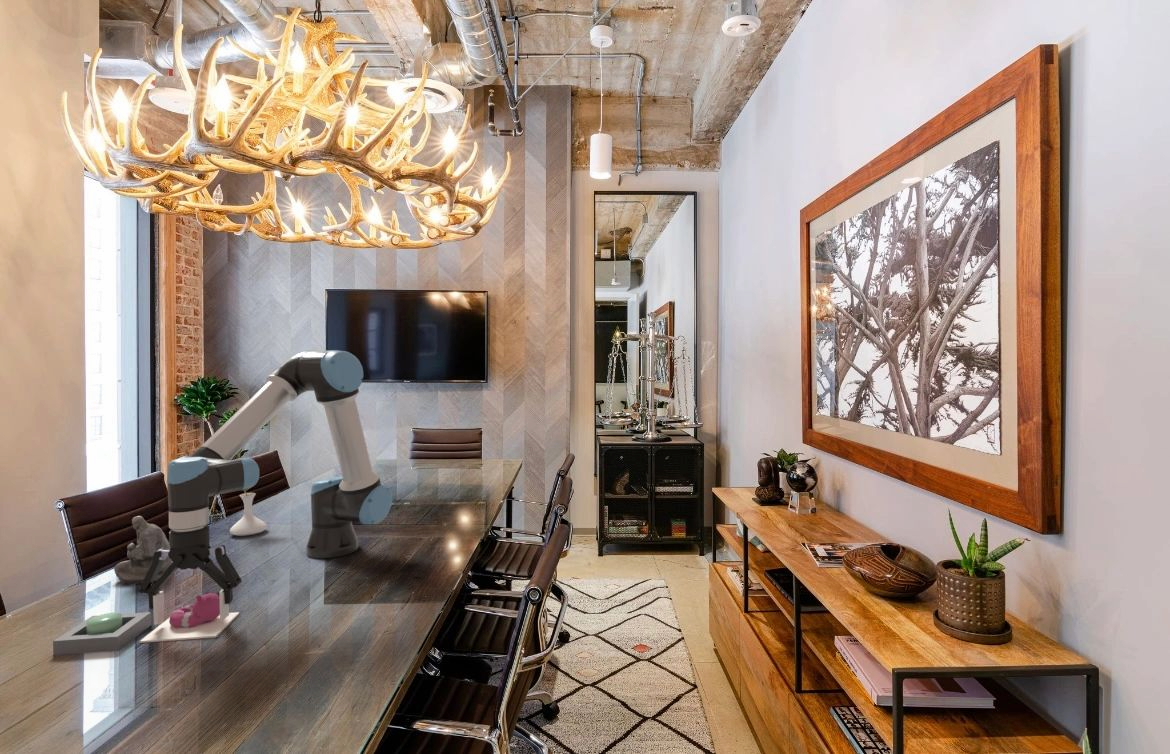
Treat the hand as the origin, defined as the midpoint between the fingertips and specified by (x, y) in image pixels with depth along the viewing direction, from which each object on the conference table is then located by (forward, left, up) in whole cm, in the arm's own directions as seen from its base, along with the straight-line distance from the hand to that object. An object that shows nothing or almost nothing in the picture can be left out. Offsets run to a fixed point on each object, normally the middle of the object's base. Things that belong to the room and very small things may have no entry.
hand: (192, 620), depth 133 cm
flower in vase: (+18, -76, -2) cm, 78 cm away
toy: (0, -3, -2) cm, 4 cm away
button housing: (+16, +3, -2) cm, 16 cm away
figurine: (+29, -35, -2) cm, 45 cm away
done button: (+16, +3, 0) cm, 16 cm away
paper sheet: (0, 0, -2) cm, 2 cm away
